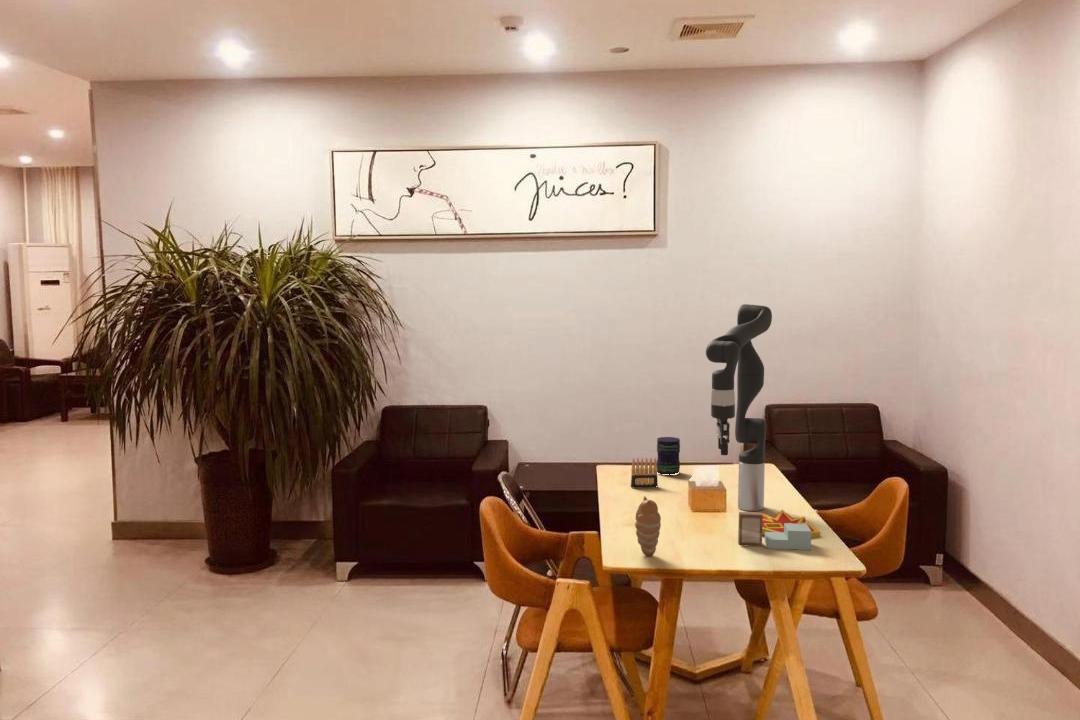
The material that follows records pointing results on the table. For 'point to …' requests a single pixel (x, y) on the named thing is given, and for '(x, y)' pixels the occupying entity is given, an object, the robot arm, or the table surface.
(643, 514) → the brown ribbed tall piece
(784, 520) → the wall decoration
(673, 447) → the storage jar
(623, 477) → the table surface
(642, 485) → the ammunition clip
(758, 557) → the table surface
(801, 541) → the blue-grey stepped block
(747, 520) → the frame
